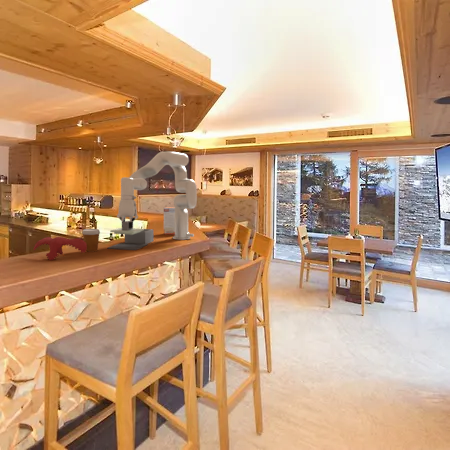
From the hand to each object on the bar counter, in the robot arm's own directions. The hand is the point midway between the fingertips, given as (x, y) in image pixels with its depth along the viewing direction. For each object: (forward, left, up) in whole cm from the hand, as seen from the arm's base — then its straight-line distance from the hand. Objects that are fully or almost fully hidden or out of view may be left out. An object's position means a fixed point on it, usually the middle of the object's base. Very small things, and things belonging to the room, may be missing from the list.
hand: (127, 228), depth 201 cm
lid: (0, 0, -3) cm, 3 cm away
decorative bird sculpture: (+20, +38, -12) cm, 44 cm away
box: (0, -17, -12) cm, 21 cm away
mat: (0, 0, -12) cm, 12 cm away
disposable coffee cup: (+14, +17, -12) cm, 25 cm away
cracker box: (-10, -58, -12) cm, 60 cm away
